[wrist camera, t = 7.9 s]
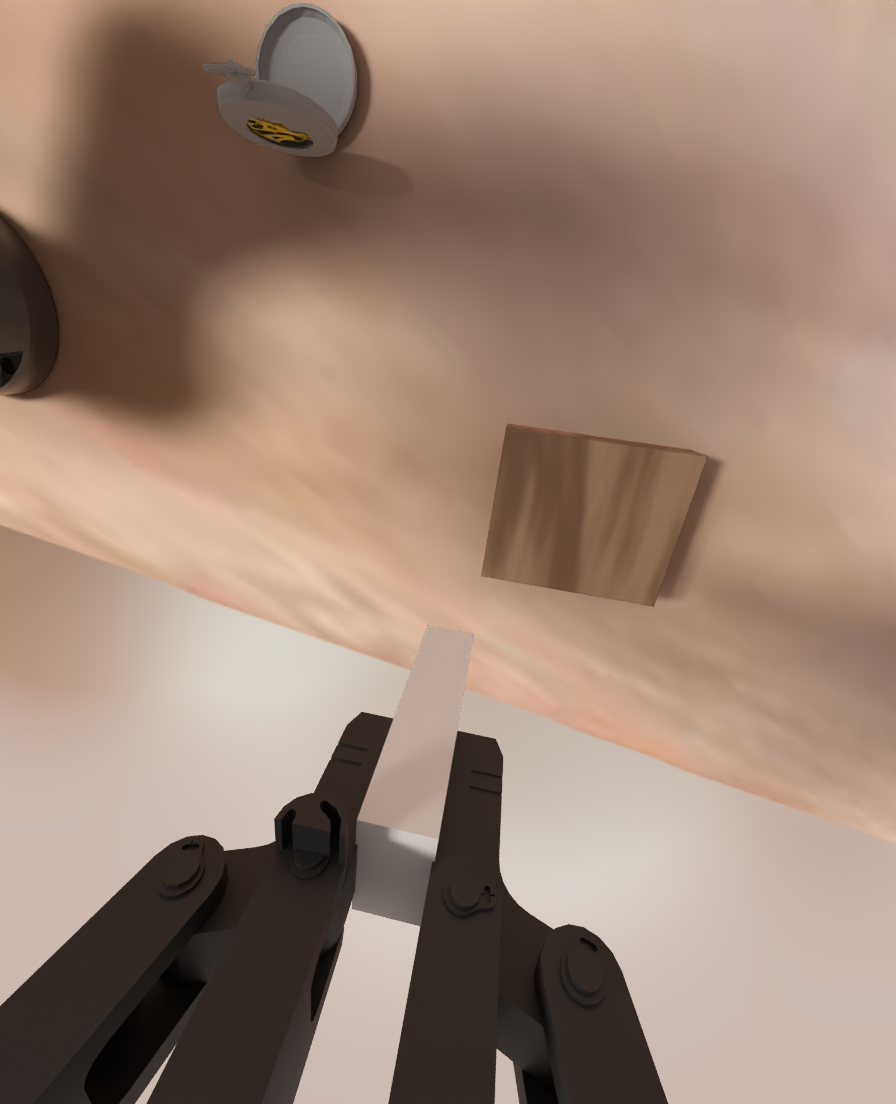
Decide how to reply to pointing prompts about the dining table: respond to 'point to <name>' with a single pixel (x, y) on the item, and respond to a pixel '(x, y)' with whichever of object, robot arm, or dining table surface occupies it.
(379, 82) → the dining table surface
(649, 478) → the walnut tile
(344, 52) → the pocket watch
